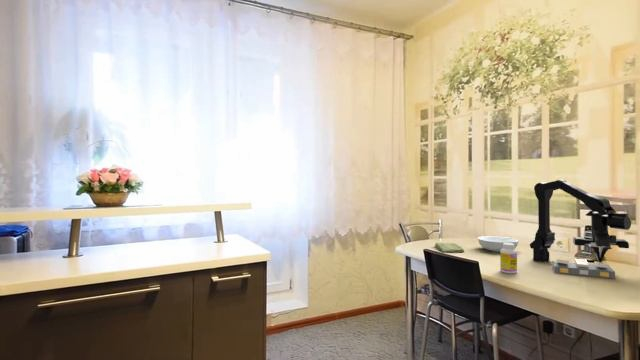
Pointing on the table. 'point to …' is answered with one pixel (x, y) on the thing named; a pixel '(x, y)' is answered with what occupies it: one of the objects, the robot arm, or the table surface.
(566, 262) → the rocker
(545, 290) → the table surface
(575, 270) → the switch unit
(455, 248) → the washcloth
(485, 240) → the serving bowl
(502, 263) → the supplement bottle
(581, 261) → the rocker
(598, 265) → the block
